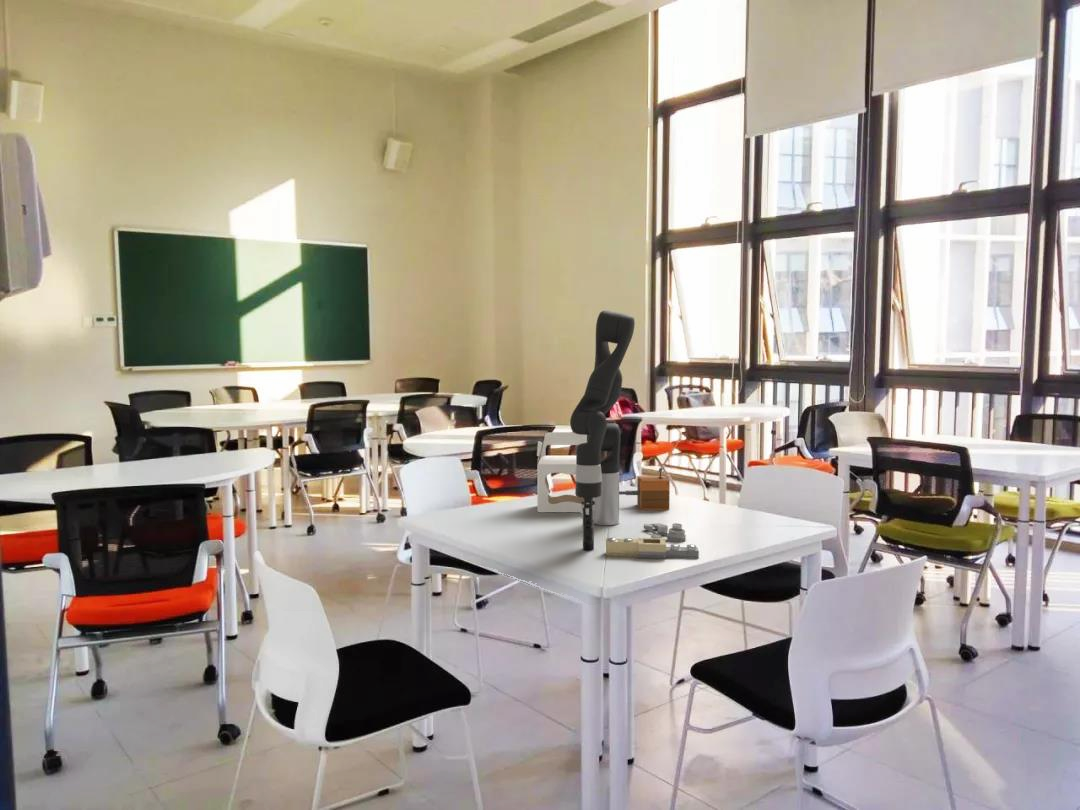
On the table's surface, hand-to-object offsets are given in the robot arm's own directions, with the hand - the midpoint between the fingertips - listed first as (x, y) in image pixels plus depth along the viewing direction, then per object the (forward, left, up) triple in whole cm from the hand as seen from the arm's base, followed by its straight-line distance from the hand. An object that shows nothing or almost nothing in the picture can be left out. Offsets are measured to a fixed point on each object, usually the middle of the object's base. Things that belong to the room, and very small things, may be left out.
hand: (588, 538), depth 233 cm
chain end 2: (+5, +23, -3) cm, 23 cm away
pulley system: (-15, +22, -4) cm, 27 cm away
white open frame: (-58, -10, -4) cm, 59 cm away
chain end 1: (+5, +14, -3) cm, 15 cm away
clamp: (-64, +16, -4) cm, 66 cm away
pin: (0, 0, -3) cm, 3 cm away
